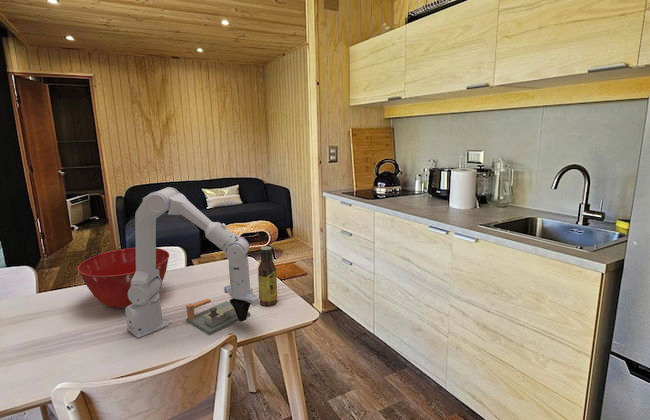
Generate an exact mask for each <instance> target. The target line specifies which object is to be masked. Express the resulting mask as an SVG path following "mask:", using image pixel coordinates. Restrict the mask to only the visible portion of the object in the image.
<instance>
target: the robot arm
mask: <svg viewBox="0 0 650 420" xmlns="http://www.w3.org/2000/svg"><path fill="white" fill-rule="evenodd" d="M166 212H168V213H167V215H169V216H172V215H174V216H176V215H177V216H180V215H181V216H182V217H184V218H185V219H187V221H190V222H191V223H193V224H194V225H195V226H197V227H198V228H199V229H201V230H203V231H204V235H205V238H206V239H207V240H208V241H209V242H211V243H213V244H214V246H216V247H217V248H219V249H220V250H221V251H223V252H224V256H225V258H226V259H227V260H228V270H229V271H228V272H229V285H225V286H224V287H223V291H224V292H223V293H225V294H228V295H229V296H230V299H229V303H231V304H232V306H233V308H234V310H235V312H236V315H237V318H238V320H239V321H238V322H242V323H243V322H244V321H246V320H247V319H248V317H247V314H248V312H249V309H250V307H251V306H252V307H255V306H257V305H259V304H260V299H259V296H258V297H257V296H256V294H254V292H253V290H254V289H253V288H252V287H251V284H250V283H251V282H250V280H251V279H250V268H249V256H248V252H249V251H250V243H249V242H248V240H247V239H246V238H245V237H244V236H239V234H234V233H233V232H232V231H231V230H230V229H228V228H227V225H226V224H225V223H224V222H223V223H221V222H219V221H212V220H211V219H210V218H209V217H207V215H205V214H204V213H203V212H202V211H201V210H199V209H198V208H197V207H196V206H195V205H194V204H193V203H192V202H191V201H189V199H187V197H186V196H185V195H184V194H183V193H181V192H180V191H178V190H177V188H174V187H171V186H168V187H165V188H162V189H160V190H157V191H152V192H150V193H148V195H146V196H144V197H142V202H141V203H140V205H139V206H138V208H137V210H136V211H135V212H134V213H135V216H134V219H135V221H134V226H135V231H134V232H135V238H134V239H135V248H136V272H135V274H134V276H133V278H132V280H131V287H130V289H129V291H128V298H129V300H130V301H131V302H132V304H131V305H129V306H127V307H126V308H124V309H125V318H126V319H125V320H126V326H127V327H126V330H127V331H128V332H129V333H130V334H132V335H133V336H134V337H136V338H137V339H138V338H141V337H144V336H146V335H149V334H150V333H151V334H152V333H153V332H156V331H158V330H161V329H163V328H165V327H168V326H169V323H168V322H167V321H166V320H164V318H163V312H162V305H161V303H162V302H161V295H160V290H162V288H163V281H162V280H161V278H160V276H159V271H158V270H157V269H156V248H157V242H156V241H157V234H156V233H157V229H156V228H157V225H156V224H157V218H159V217H160V216H162V215H163V214H164V213H166Z"/></svg>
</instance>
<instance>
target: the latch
mask: <svg viewBox="0 0 650 420" xmlns="http://www.w3.org/2000/svg"><path fill="white" fill-rule="evenodd" d="M235 315H236V312H235V310H234V308H233V306H232V304H231V305H229V306H227V307H224V308H222V309H220V310H216V316H215V317H211V312H210V313H207V314H205V315H203V317H204V323H205V324H207V325H209V326H210V327H214V326H216V325H218V324H221V323H223V322H225V321H224V320H226V319H228V318H231V317H233V316H235Z"/></svg>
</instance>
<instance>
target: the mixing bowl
mask: <svg viewBox="0 0 650 420" xmlns="http://www.w3.org/2000/svg"><path fill="white" fill-rule="evenodd" d="M169 258H170V253H169V251H167V250H165V249H162V248H159V247H158V248H157V247H156V269H157V270H158V271H159V276H160V278H161V280H162V282H163V281H164V278H165V275H166V272H167V267H168V263H169ZM77 272H78V273H79V274H80V276H81V278H82V280H83V281H84V284H85V286H86V287H87V288H88V290H89V291H90V293H91V294H92V295H93V296H94V298H95V299H96V300H98V301H99V302H100V303H101V304H103V305H104V306H107V307H110V308H113V309H117V310H118V309H119V310H121V309H126V307H127V306H129V305H131V304H132V302H131V301H130V300H129V298H128V291H129V289H130V287H131V280H132V278H133V276H134V274H135V272H136V247H129V248H121V249H116V250H111V251H107V252H103V253H99V254H96V255H93V256H91V257H89V258H87V259H85V260H83V261H82V262H81V263H79V265H78V266H77Z"/></svg>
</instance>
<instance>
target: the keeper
mask: <svg viewBox="0 0 650 420" xmlns="http://www.w3.org/2000/svg"><path fill="white" fill-rule="evenodd" d="M211 302H212V300H211V299H209V298H205V299H203V300H199V301H198V302H194V303H189V304H186V305H185V306H186V309H185V310H186V315H187V317H186V318H188V319H189V320H193V319H195V309H197V308H200V307H202V306H205V305H207V304H210V303H211Z"/></svg>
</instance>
